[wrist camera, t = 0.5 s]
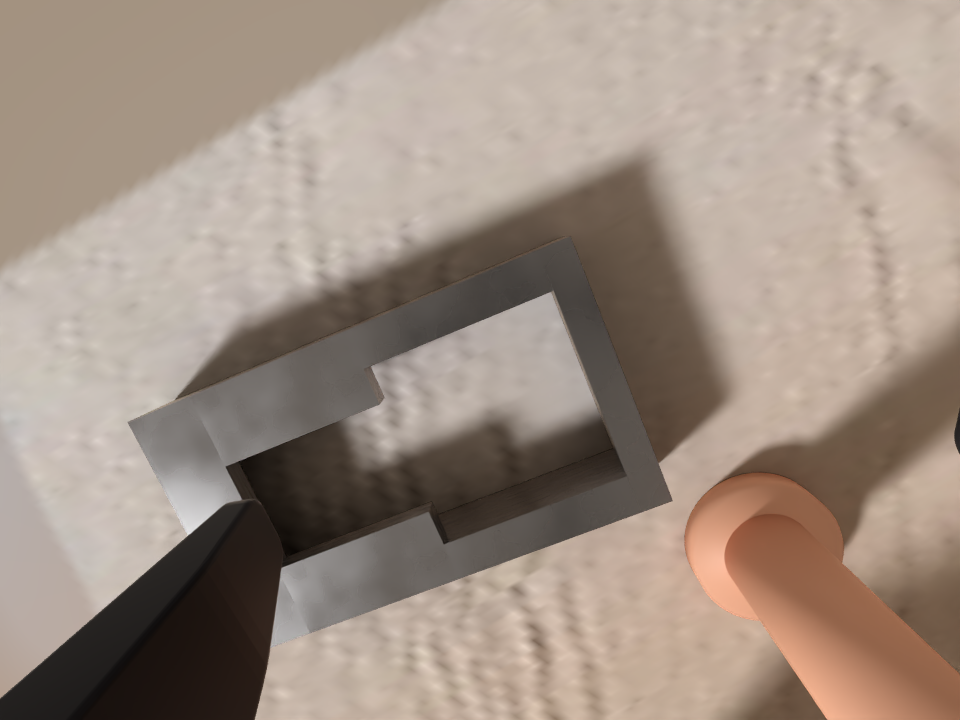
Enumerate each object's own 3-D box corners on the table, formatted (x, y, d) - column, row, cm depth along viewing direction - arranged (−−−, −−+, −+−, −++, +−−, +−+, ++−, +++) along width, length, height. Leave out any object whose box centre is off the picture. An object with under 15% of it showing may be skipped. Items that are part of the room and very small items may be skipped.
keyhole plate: (561, 237, 25) (570, 235, 22) (652, 469, 26) (672, 500, 23) (173, 400, 27) (127, 422, 24) (280, 607, 28) (250, 654, 25)
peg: (784, 620, 28) (1026, 945, 15) (661, 570, 27) (798, 856, 15) (850, 504, 26) (1174, 746, 14) (722, 451, 26) (929, 648, 13)
